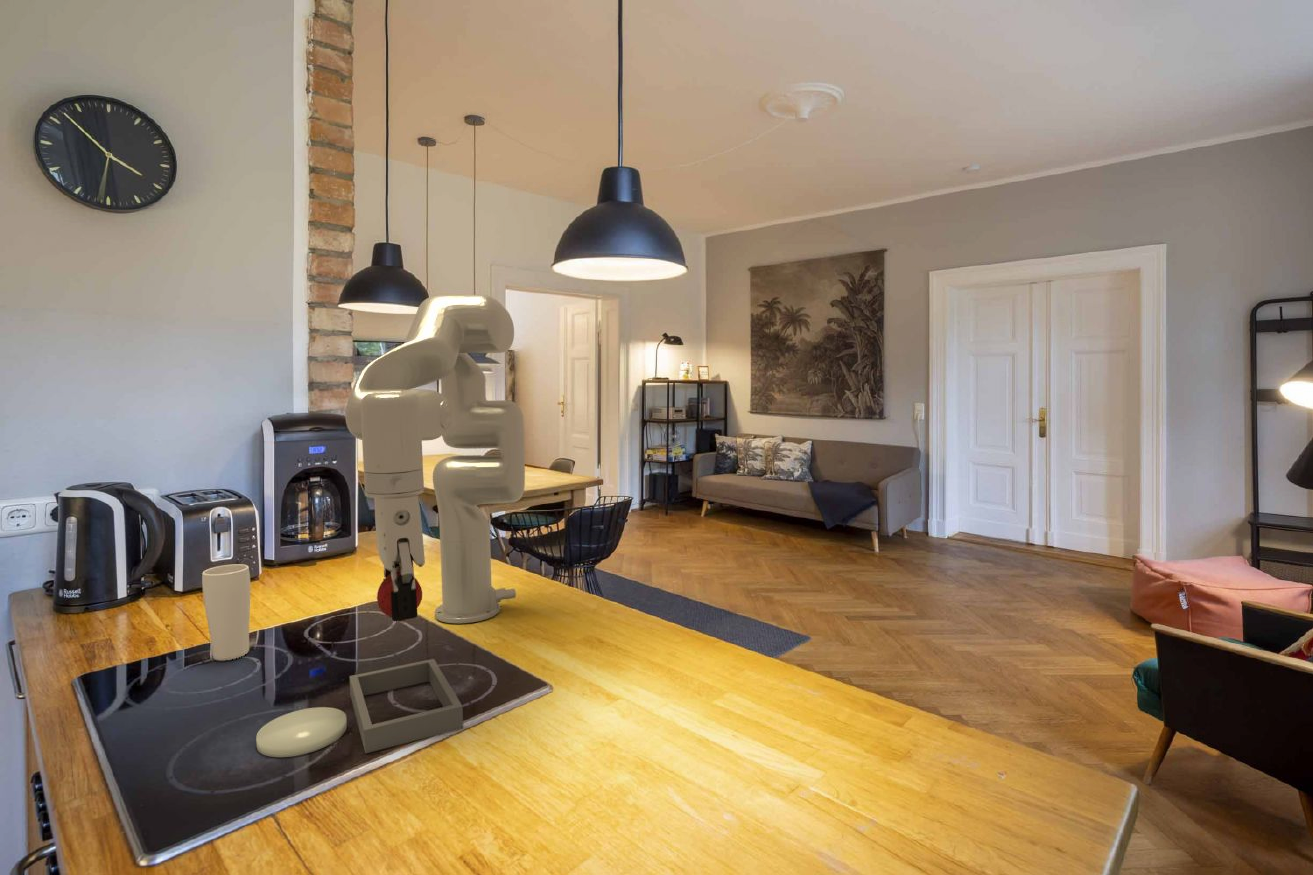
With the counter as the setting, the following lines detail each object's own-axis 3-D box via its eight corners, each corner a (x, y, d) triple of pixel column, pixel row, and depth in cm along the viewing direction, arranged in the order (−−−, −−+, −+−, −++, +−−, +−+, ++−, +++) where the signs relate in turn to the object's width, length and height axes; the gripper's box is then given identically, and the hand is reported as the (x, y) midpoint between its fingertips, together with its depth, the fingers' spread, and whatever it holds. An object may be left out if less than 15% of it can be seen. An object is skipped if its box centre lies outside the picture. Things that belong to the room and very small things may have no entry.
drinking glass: (231, 665, 110) (226, 575, 109) (197, 662, 111) (191, 573, 110) (263, 649, 116) (258, 564, 115) (230, 646, 118) (225, 563, 117)
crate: (434, 677, 104) (433, 658, 104) (463, 727, 89) (462, 706, 88) (350, 695, 98) (349, 676, 98) (365, 753, 83) (364, 730, 83)
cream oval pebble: (343, 708, 94) (342, 700, 94) (350, 742, 85) (350, 733, 85) (257, 728, 89) (256, 719, 89) (255, 766, 80) (255, 756, 80)
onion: (380, 632, 89) (377, 574, 88) (376, 618, 94) (373, 563, 93) (426, 624, 92) (423, 567, 91) (419, 611, 97) (417, 557, 96)
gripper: (436, 489, 86) (442, 626, 87) (411, 473, 100) (417, 590, 102) (373, 495, 82) (380, 637, 84) (357, 477, 97) (363, 598, 98)
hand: (400, 610), depth 93 cm, fingers closed on onion, 5 cm apart
